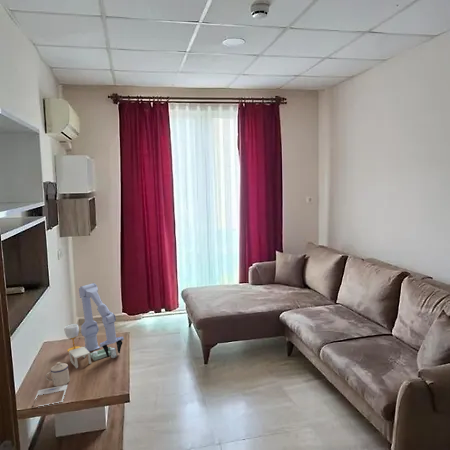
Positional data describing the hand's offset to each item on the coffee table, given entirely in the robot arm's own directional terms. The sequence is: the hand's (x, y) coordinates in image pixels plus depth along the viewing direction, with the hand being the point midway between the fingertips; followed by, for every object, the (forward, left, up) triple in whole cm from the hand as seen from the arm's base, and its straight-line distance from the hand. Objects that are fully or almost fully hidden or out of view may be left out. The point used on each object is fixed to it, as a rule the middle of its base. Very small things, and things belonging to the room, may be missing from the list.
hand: (113, 354), depth 256 cm
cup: (-31, -16, -2) cm, 35 cm away
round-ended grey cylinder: (0, 0, -1) cm, 1 cm away
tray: (-8, -5, -1) cm, 9 cm away
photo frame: (+22, -42, -2) cm, 48 cm away
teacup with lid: (+10, -35, -2) cm, 37 cm away
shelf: (-8, -18, -1) cm, 20 cm away
